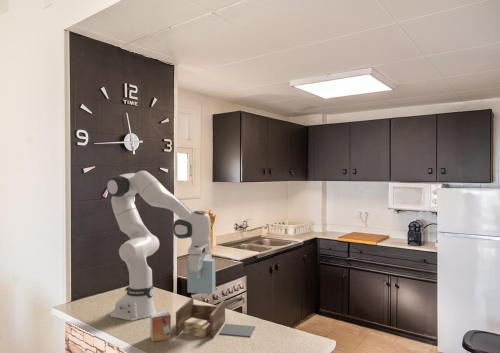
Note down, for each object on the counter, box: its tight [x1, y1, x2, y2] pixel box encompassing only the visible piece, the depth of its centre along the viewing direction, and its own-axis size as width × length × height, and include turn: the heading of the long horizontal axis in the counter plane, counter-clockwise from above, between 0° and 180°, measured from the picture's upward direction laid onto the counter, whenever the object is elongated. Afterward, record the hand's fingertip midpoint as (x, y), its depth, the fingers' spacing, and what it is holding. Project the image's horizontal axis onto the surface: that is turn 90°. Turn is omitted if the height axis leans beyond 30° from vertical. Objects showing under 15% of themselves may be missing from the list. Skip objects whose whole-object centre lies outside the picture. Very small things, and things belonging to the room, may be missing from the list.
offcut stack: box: [182, 317, 211, 338], centre depth 163 cm, size 11×6×5 cm, turn 70°
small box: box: [149, 310, 172, 343], centre depth 158 cm, size 8×6×10 cm
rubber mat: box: [218, 323, 256, 338], centre depth 164 cm, size 14×10×1 cm
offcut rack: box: [175, 297, 226, 339], centre depth 167 cm, size 17×18×10 cm
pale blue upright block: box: [186, 258, 216, 295], centre depth 168 cm, size 12×4×15 cm, turn 77°
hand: (201, 276), depth 168 cm, fingers closed on pale blue upright block, 4 cm apart
